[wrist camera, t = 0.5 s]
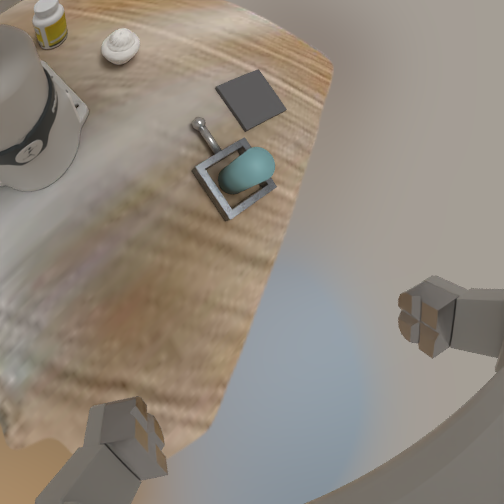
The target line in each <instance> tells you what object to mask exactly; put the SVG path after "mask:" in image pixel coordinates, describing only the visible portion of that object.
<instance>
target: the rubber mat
mask: <svg viewBox="0 0 504 504" xmlns="http://www.w3.org/2000/svg"><path fill="white" fill-rule="evenodd" d="M215 89H216V91H217V92H218V93H219V95H220V96H221V98H222V99H223V100H224V102H225V103H226V105H227V106H228V108H229V109H230V110H231V112H232V113H233V115H234V116H235V118H236V119H237V121H238V122H239V124H240V125H241V127H242V128H243V130H244V131H245V132H246V131H248V130H250V129H251V128H253V127H255V126H257V125H259V124H261V123H263V122H265V121H266V120H268V119H270V118H272V117H274V116H276V115H278V114H280V113H282V112H284V111H286V110H287V109H286V108H285V106H284V105H283V103H282V102H281V100H280V99H279V97H278V96H277V95H276V93H275V92H274V90H273V89H272V87H271V86H270V85H269V83H268V82H267V80H266V79H265V78H264V76H263V75H262V74H261V72H260V71H259V69H258V70H255V71H253V72H250V73H248V74H245V75H243V76H240V77H238V78H235V79H233V80H230V81H228V82H226V83H223V84H221V85H219V86H217V87H216V88H215Z"/></svg>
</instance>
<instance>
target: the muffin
mask: <svg viewBox="0 0 504 504" xmlns="http://www.w3.org/2000/svg"><path fill="white" fill-rule="evenodd" d="M139 47H140V40H139V37H138V36H137V35H136V34H135V33H133V32H131V30H128V29H127V28H126V29H124V28H122V29H118V30H115V32H112V34H110V35H109V36H108V37H107V38H106V39H105V40H104V41H103V43H102V47H101V52H102V55H103V56H104V57H105V58H106V59H107V60H108V61H110V62H112V63H113V64H116V65H120V64H124V63H126V62H127V61H129V60H130V59H131V58H132V57H134V55H135V54H136V53H137V51H138V49H139Z"/></svg>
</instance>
